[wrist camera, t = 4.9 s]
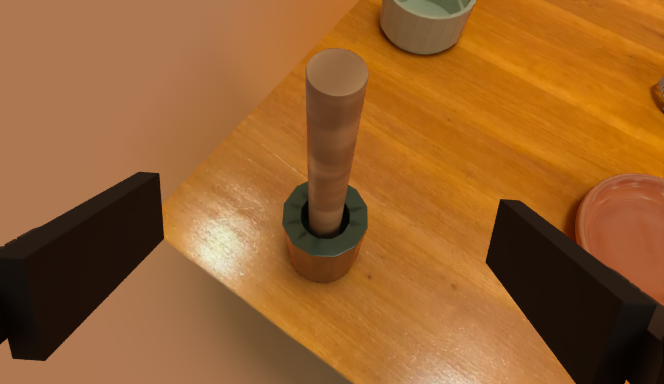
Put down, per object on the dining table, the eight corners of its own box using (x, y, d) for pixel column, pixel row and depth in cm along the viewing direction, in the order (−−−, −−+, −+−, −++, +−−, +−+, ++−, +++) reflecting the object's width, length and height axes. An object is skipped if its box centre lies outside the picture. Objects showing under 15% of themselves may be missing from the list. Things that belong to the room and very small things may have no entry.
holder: (275, 260, 37) (265, 227, 29) (312, 207, 40) (312, 164, 32) (333, 296, 36) (340, 273, 28) (367, 239, 38) (382, 203, 30)
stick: (304, 252, 37) (293, 77, 15) (318, 230, 38) (326, 39, 16) (327, 265, 36) (348, 105, 15) (340, 243, 37) (379, 64, 16)
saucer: (756, 325, 36) (791, 321, 34) (602, 348, 35) (627, 345, 32) (670, 179, 43) (694, 166, 41) (539, 192, 42) (555, 179, 39)
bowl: (364, 34, 51) (370, -6, 46) (401, -11, 55) (410, -53, 50) (439, 70, 49) (455, 32, 44) (472, 19, 53) (490, -21, 48)
